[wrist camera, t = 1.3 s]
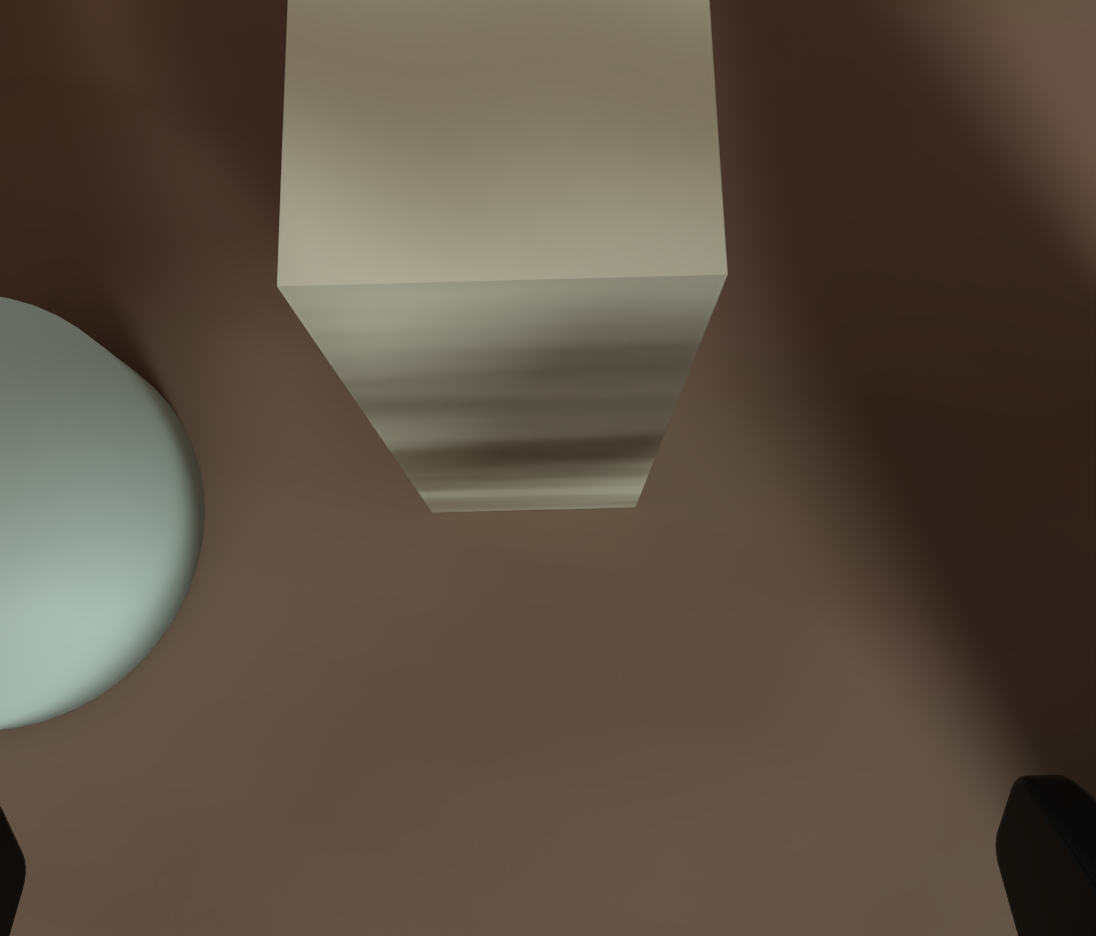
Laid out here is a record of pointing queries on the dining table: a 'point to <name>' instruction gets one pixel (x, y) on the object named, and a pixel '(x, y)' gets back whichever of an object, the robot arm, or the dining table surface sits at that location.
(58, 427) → the plinth
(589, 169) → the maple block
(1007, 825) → the robot arm
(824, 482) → the dining table surface
